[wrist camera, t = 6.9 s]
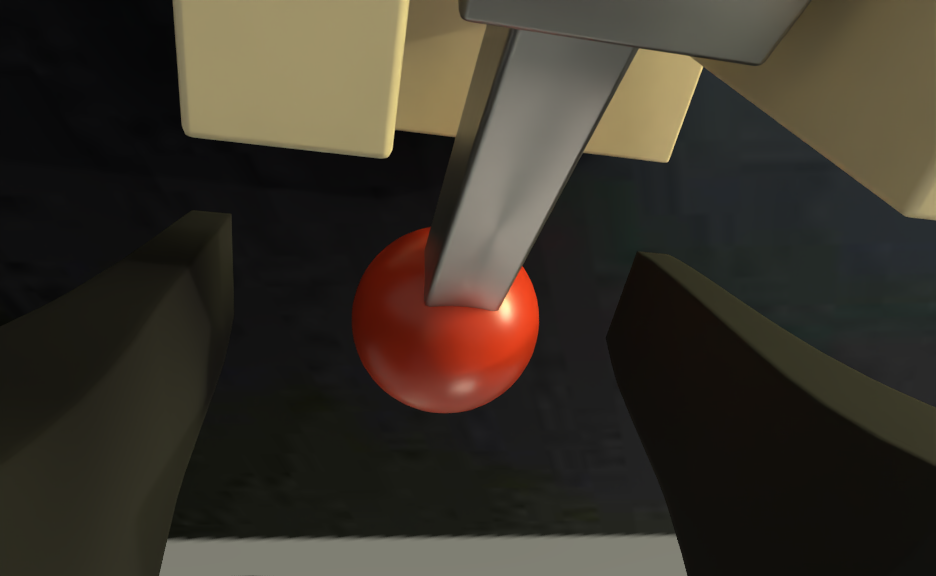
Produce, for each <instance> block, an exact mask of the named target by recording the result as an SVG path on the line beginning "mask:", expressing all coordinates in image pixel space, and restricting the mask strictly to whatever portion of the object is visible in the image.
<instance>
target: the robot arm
mask: <svg viewBox="0 0 936 576" xmlns="http://www.w3.org/2000/svg"><path fill="white" fill-rule="evenodd" d="M233 317H234V288H233V255H232V221H231V214H227V213H216V212H205V211H194V210H192V211H191V212H189V213H187V214H186V215H184V216H183V217H182V218H180V219H179V220H177V221H176V222H175V223H173V224H172V225H171V226H169V227H168V228H166V229H165V230H164V231H162V232H161V233H160V234H158V235H157V236H155V237H154V238H153V239H151V240H150V241H148V242H147V243H145V244H144V245H143V246H141V247H140V248H138V249H137V250H135V251H134V252H132V253H131V254H130V255H128V256H127V257H125V258H124V259H122V260H121V261H119V262H118V263H116V264H115V265H113V266H111V267H110V268H108V269H106V270H105V271H103V272H101V273H100V274H98V275H96V276H95V277H93V278H92V279H90V280H88V281H87V282H85V283H83V284H82V285H80V286H78V287H77V288H75V289H74V290H72V291H70V292H68V293H67V294H65V295H63V296H61V297H59V298H57V299H56V300H54V301H52V302H50V303H48V304H46V305H44V306H42V307H40V308H38V309H36V310H34V311H32V312H30V313H28V314H26V315H24V316H21V317H19V318H17V319H15V320H13V321H11V322H9V323H7V324H5V325H2V326H0V576H159V573H160V568H161V564H162V560H163V555H164V551H165V547H166V542H167V538H168V534H169V530H170V526H171V521H172V517H173V513H174V509H175V505H176V501H177V497H178V493H179V490H180V487H181V484H182V480H183V477H184V474H185V471H186V468H187V465H188V462H189V460H190V457H191V454H192V451H193V448H194V446H195V443H196V440H197V437H198V435H199V432H200V429H201V426H202V424H203V421H204V418H205V415H206V412H207V410H208V407H209V404H210V401H211V399H212V396H213V393H214V390H215V387H216V384H217V382H218V379H219V376H220V373H221V370H222V367H223V364H224V361H225V356H226V352H227V347H228V342H229V338H230V333H231V328H232V322H233ZM606 341H607V345H608V350H609V354H610V358H611V363H612V366H613V370H614V374H615V377H616V381H617V384H618V387H619V389H620V392H621V394H622V397H623V399H624V402H625V404H626V406H627V409H628V411H629V414H630V416H631V418H632V421H633V423H634V425H635V428H636V430H637V433H638V435H639V437H640V440H641V442H642V444H643V447H644V449H645V451H646V454H647V456H648V458H649V461H650V463H651V465H652V468H653V470H654V472H655V475H656V477H657V479H658V482H659V484H660V487H661V490H662V492H663V495H664V498H665V500H666V503H667V506H668V509H669V513H670V516H671V519H672V523H673V526H674V530H675V533H676V536H677V540H678V543H679V546H680V549H681V553H682V557H683V560H684V564H685V568H686V572H687V576H936V408H935V407H932V406H930V405H928V404H926V403H923V402H921V401H919V400H917V399H914V398H912V397H910V396H908V395H905V394H903V393H901V392H899V391H896V390H894V389H892V388H890V387H888V386H886V385H884V384H882V383H879V382H877V381H875V380H873V379H871V378H869V377H867V376H865V375H863V374H862V373H860V372H858V371H856V370H854V369H852V368H850V367H848V366H846V365H844V364H843V363H841V362H839V361H837V360H835V359H833V358H831V357H829V356H828V355H826V354H824V353H822V352H821V351H819V350H817V349H815V348H814V347H812V346H810V345H809V344H807V343H805V342H804V341H802V340H800V339H799V338H797V337H796V336H794V335H792V334H791V333H789V332H787V331H786V330H784V329H783V328H781V327H779V326H778V325H776V324H775V323H773V322H772V321H770V320H769V319H767V318H766V317H764V316H762V315H761V314H759V313H758V312H756V311H755V310H753V309H752V308H751V307H749V306H748V305H746V304H745V303H743V302H742V301H740V300H739V299H737V298H736V297H734V296H733V295H731V294H730V293H728V292H727V291H726V290H724V289H723V288H721V287H720V286H718V285H717V284H715V283H714V282H712V281H711V280H709V279H708V278H706V277H705V276H703V275H702V274H700V273H699V272H697V271H696V270H694V269H693V268H691V267H690V266H688V265H686V264H685V263H683V262H681V261H680V260H678V259H676V258H674V257H672V256H670V255H668V254H659V253H648V252H637V253H636V256H635V259H634V262H633V264H632V267H631V270H630V273H629V275H628V278H627V281H626V284H625V286H624V289H623V292H622V295H621V297H620V300H619V303H618V306H617V308H616V311H615V314H614V317H613V319H612V322H611V325H610V328H609V331H608V333H607V336H606Z"/></svg>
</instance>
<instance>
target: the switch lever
mask: <svg viewBox="0 0 936 576" xmlns="http://www.w3.org/2000/svg"><path fill="white" fill-rule="evenodd" d="M811 1H812V0H458V9H459V13H460V16H461V18H462V19H464V20H465V21H468V22H474V23H480V24H487V25H486V29H485V33H484V36H483V40H482V43H481V47H480V51H479V54H478V58H477V62H476V65H475V69H474V72H473V76H472V80H471V83H470V87H469V91H468V94H467V98H466V101H465V105H464V109H463V112H462V116H461V120H460V123H459V127H458V130H457V134H456V138H455V141H454V145H453V149H452V152H451V156H450V159H449V163H448V167H447V170H446V174H445V178H444V181H443V185H442V188H441V192H440V196H439V199H438V203H437V207H436V210H435V214H434V217H433V221H432V225H431V227H428V228H423V229H419V230H416V231H413V232H411V233H409V234H406V235H404V236H402V237H400V238H398V239H397V240H395V241H394V242H392V243H391V244H389V245H388V246H387V247H386V248H384V249H383V250H382V251H381V252H380V253H379V254H378V255H377V256H376V257H375V258H374V260H373V261H372V262H371V263H370V265H369V266H368V268H367V269H366V271H365V272H364V274H363V276H362V278H361V280H360V282H359V285H358V287H357V291H356V294H355V298H354V301H353V308H352V331H353V338H354V342H355V345H356V348H357V352H358V355H359V357H360V359H361V361H362V363H363V365H364V367H365V368H366V370H367V371H368V373H369V374H370V376H371V377H372V379H373V380H374V381H375V382H376V383H377V384H378V385H379V386H380V387H381V388H382V389H383V390H384V391H385V392H387V393H388V394H389V395H391V396H392V397H393V398H395V399H397V400H398V401H400V402H402V403H404V404H406V405H408V406H411V407H413V408H416V409H419V410H423V411H427V412H434V413H456V412H463V411H468V410H472V409H474V408H477V407H480V406H482V405H485V404H487V403H489V402H490V401H492V400H494V399H495V398H497V397H499V396H500V395H501V394H503V393H504V392H505V391H506V390H507V389H509V388H510V387H511V386H512V385H513V384H514V382H515V381H516V380H517V379H518V378H519V377H520V375H521V374H522V372H523V371H524V369H525V368H526V366H527V364H528V363H529V360H530V358H531V356H532V354H533V351H534V348H535V344H536V341H537V336H538V329H539V310H538V303H537V297H536V294H535V291H534V288H533V285H532V282H531V280H530V278H529V276H528V274H527V272H526V271H525V269H524V268H523V266H522V265H523V264H524V262H525V260H526V258H527V256H528V254H529V252H530V251H531V249H532V247H533V245H534V243H535V241H536V239H537V237H538V236H539V234H540V232H541V230H542V228H543V226H544V224H545V223H546V221H547V219H548V217H549V215H550V213H551V211H552V209H553V208H554V206H555V204H556V202H557V200H558V198H559V196H560V195H561V193H562V191H563V189H564V187H565V185H566V183H567V181H568V180H569V178H570V176H571V174H572V172H573V170H574V168H575V167H576V165H577V163H578V161H579V159H580V157H581V155H582V153H583V152H584V150H585V148H586V146H587V144H588V142H589V140H590V139H591V137H592V135H593V133H594V131H595V129H596V127H597V126H598V124H599V122H600V120H601V118H602V116H603V114H604V112H605V111H606V109H607V107H608V105H609V103H610V101H611V99H612V98H613V96H614V94H615V92H616V90H617V88H618V86H619V84H620V83H621V81H622V79H623V77H624V75H625V73H626V71H627V70H628V68H629V66H630V64H631V62H632V60H633V58H634V56H635V55H636V53H637V51H638V49H639V48H641V49H647V50H654V51H660V52H667V53H673V54H680V55H686V56H692V57H699V58H705V59H712V60H718V61H725V62H731V63H737V64H744V65H750V66H759V65H761V64H763V63H764V62H765V61H766V60H767V59H768V57H769V56H770V55H771V53H772V52H773V51H774V49H775V48H776V47H777V46H778V44H779V43H780V42H781V40H782V39H783V38H784V36H785V35H786V34H787V32H788V31H789V30H790V28H791V27H792V26H793V24H794V23H795V22H796V21H797V19H798V18H799V17H800V15H801V14H802V13H803V11H804V10H805V9H806V7H807V6H808V5H809V3H810V2H811Z"/></svg>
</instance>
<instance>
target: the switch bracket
mask: <svg viewBox="0 0 936 576" xmlns="http://www.w3.org/2000/svg"><path fill="white" fill-rule="evenodd" d="M173 13H174V27H175V41H176V54H177V68H178V82H179V96H180V110H181V124H182V127H183V130H184V132H185V135H188V136H190V137H194V138H203V139H212V140H221V141H230V142H238V143H247V144H256V145H265V146H274V147H283V148H292V149H301V150H309V151H318V152H327V153H336V154H345V155H354V156H363V157H371V158H380V159H382V158H387V157H389V155H390V153H391V152H392V150H393V141H394V132H395V130H400V131H408V132H416V133H424V134H433V135H441V136H449V137H456V134H457V130H458V127H459V123H460V120H461V116H462V112H463V109H464V105H465V101H466V98H467V94H468V91H469V87H470V83H471V80H472V76H473V72H474V69H475V65H476V62H477V58H478V54H479V51H480V47H481V43H482V40H483V36H484V33H485V29H486V25H487V24H480V23H474V22H468V21H465V20H464V19H462V18H461V16H460V13H459V9H458V0H173ZM703 67H705V68H706V69H707V70H709V71H710V72H711V73H713V74H714V75H715V76H717V77H718V78H719V79H721V80H722V81H723V82H725V83H726V84H727V85H729V86H730V87H731V88H733V89H734V90H736V91H737V92H738V93H740V94H741V95H742V96H744V97H745V98H746V99H748V100H749V101H750V102H752V103H753V104H754V105H756V106H757V107H758V108H760V109H761V110H762V111H764V112H765V113H767V114H768V115H769V116H771V117H772V118H773V119H775V120H776V121H777V122H779V123H780V124H781V125H783V126H784V127H785V128H787V129H788V130H789V131H791V132H792V133H793V134H795V135H796V136H798V137H799V138H800V139H802V140H803V141H804V142H806V143H807V144H808V145H810V146H811V147H812V148H814V149H815V150H816V151H818V152H819V153H820V154H822V155H823V156H824V157H826V158H827V159H829V160H830V161H831V162H833V163H834V164H835V165H837V166H838V167H839V168H841V169H842V170H843V171H845V172H846V173H847V174H849V175H850V176H851V177H853V178H854V179H855V180H857V181H858V182H860V183H861V184H862V185H864V186H865V187H866V188H868V189H869V190H870V191H872V192H873V193H874V194H876V195H877V196H878V197H880V198H881V199H882V200H884V201H885V202H886V203H888V204H889V205H890V206H892V207H893V208H895V209H896V210H897V211H899V212H900V213H901V214H903V215H904V216H905V217H912V218H920V219H929V220H936V0H812V1H811V2H810V3H809V5H808V6H807V7H806V9H805V10H804V11H803V13H802V14H801V15H800V17H799V18H798V19H797V21H796V22H795V23H794V24H793V26H792V27H791V28H790V30H789V31H788V32H787V34H786V35H785V36H784V38H783V39H782V40H781V42H780V43H779V44H778V46H777V47H776V48H775V49H774V51H773V52H772V53H771V55H770V56H769V57H768V59H767V60H766V61H765V62H764V63H763V64H761V65H759V66H750V65H744V64H737V63H731V62H725V61H718V60H712V59H705V58H699V57H692V56H686V55H680V54H673V53H667V52H660V51H654V50H647V49H641V48H639V49H638V51H637V53H636V55H635V56H634V58H633V60H632V62H631V64H630V66H629V68H628V70H627V71H626V73H625V75H624V77H623V79H622V81H621V83H620V84H619V86H618V88H617V90H616V92H615V94H614V96H613V98H612V99H611V101H610V103H609V105H608V107H607V109H606V111H605V112H604V114H603V116H602V118H601V120H600V122H599V124H598V126H597V127H596V129H595V131H594V133H593V135H592V137H591V139H590V140H589V142H588V144H587V146H586V148H585V150H584V152H583V153H589V154H597V155H606V156H614V157H622V158H630V159H639V160H647V161H655V162H663V163H666V162H668V161H669V159H670V156H671V153H672V150H673V148H674V145H675V142H676V140H677V137H678V134H679V131H680V129H681V126H682V123H683V120H684V118H685V115H686V112H687V109H688V107H689V104H690V101H691V98H692V96H693V93H694V90H695V87H696V85H697V82H698V79H699V76H700V74H701V71H702V68H703Z"/></svg>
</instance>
